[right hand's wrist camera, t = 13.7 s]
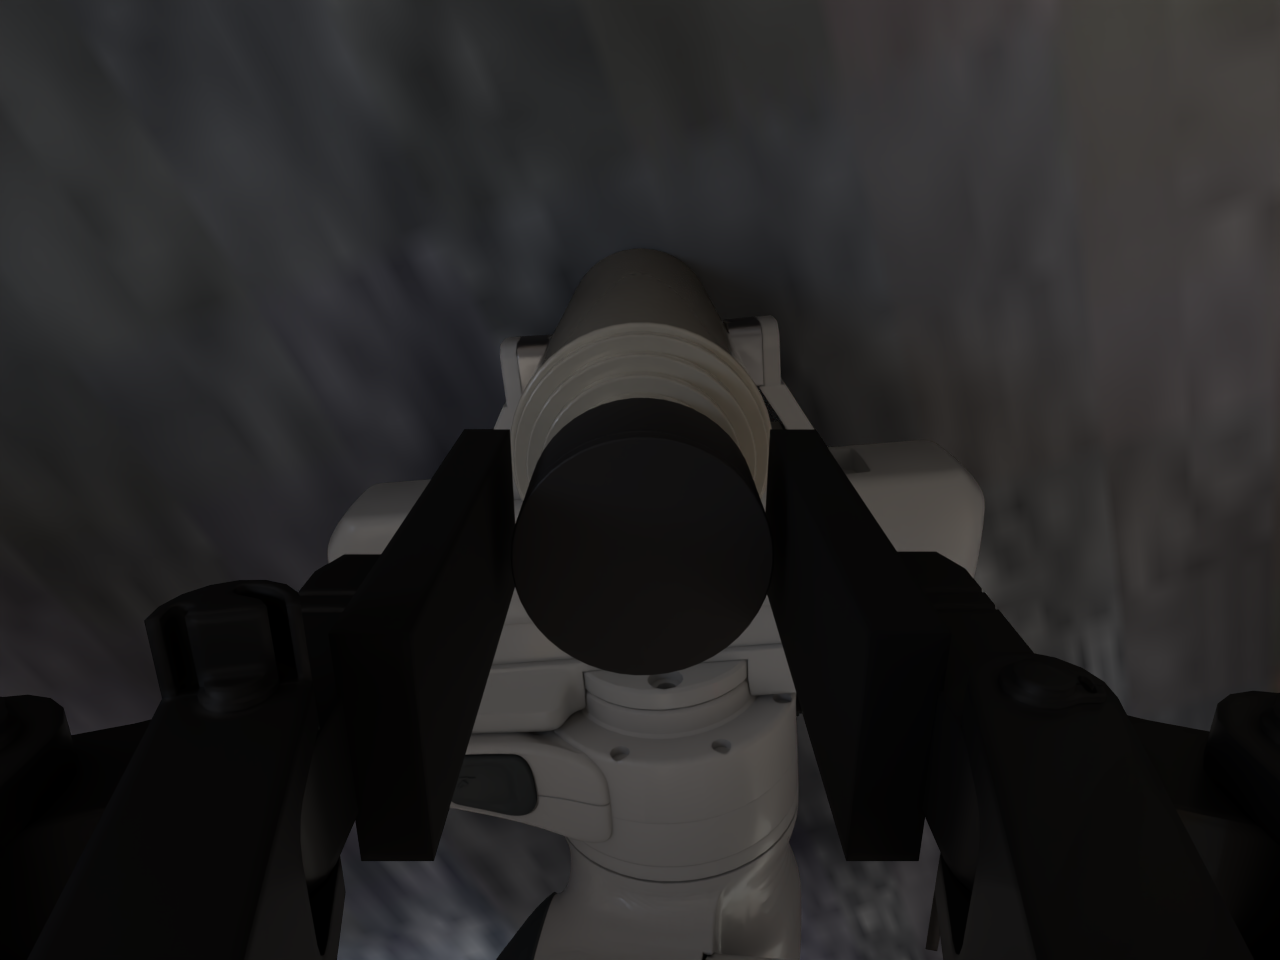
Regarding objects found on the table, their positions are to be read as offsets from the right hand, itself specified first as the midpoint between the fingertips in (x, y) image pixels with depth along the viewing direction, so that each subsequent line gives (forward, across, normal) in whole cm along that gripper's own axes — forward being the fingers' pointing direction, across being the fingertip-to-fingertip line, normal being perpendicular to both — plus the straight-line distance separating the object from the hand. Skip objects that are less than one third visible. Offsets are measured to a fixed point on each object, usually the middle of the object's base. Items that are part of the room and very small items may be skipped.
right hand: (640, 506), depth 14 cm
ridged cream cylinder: (+18, 0, 0) cm, 18 cm away
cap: (-2, 0, 0) cm, 2 cm away
